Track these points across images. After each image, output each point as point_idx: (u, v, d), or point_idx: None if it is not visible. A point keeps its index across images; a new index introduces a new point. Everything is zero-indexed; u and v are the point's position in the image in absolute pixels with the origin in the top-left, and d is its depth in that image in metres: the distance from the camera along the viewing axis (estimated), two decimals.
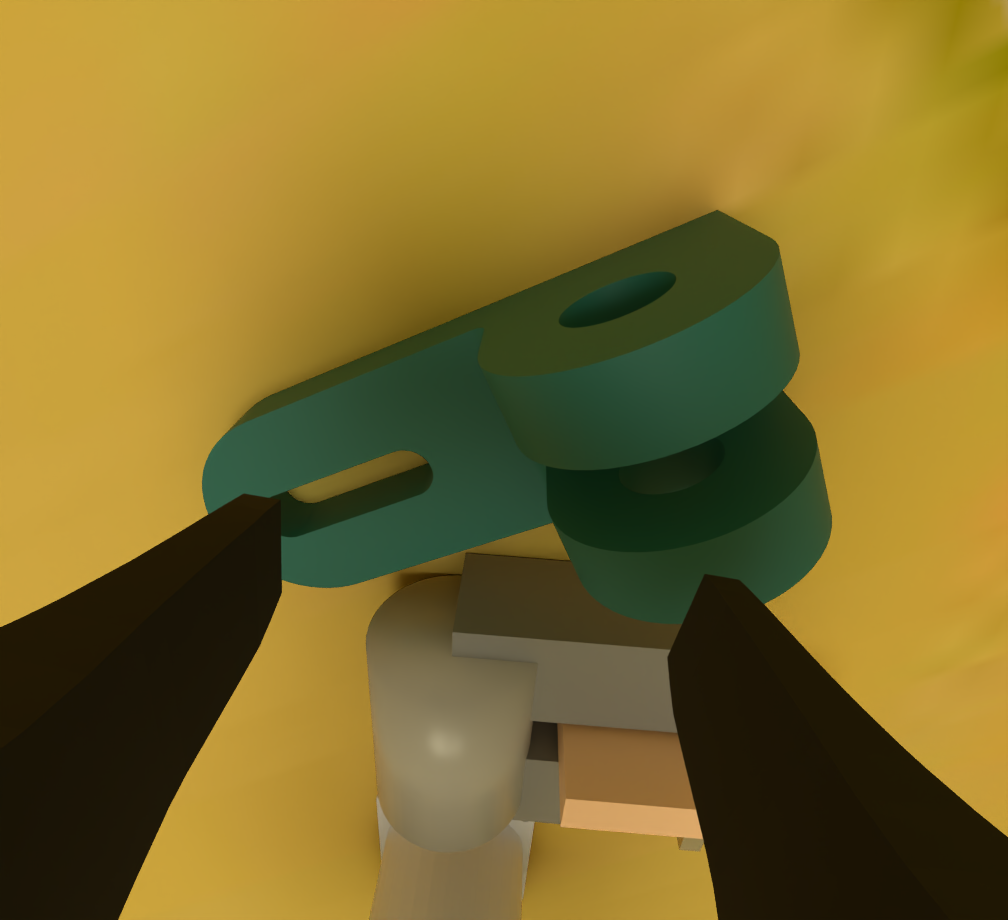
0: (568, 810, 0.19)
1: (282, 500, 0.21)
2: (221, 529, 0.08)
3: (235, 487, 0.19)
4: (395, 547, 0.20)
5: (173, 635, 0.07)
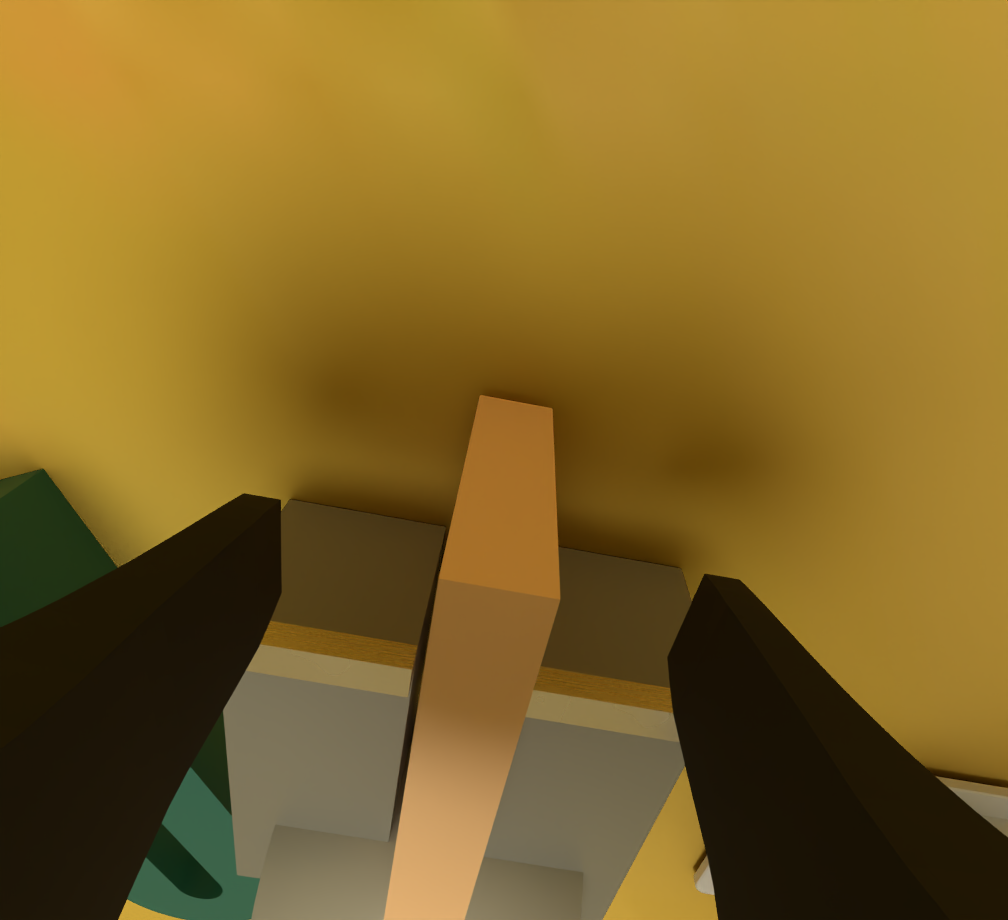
0: None
1: None
2: (221, 529, 0.08)
3: (173, 903, 0.22)
4: (220, 834, 0.19)
5: (173, 635, 0.07)
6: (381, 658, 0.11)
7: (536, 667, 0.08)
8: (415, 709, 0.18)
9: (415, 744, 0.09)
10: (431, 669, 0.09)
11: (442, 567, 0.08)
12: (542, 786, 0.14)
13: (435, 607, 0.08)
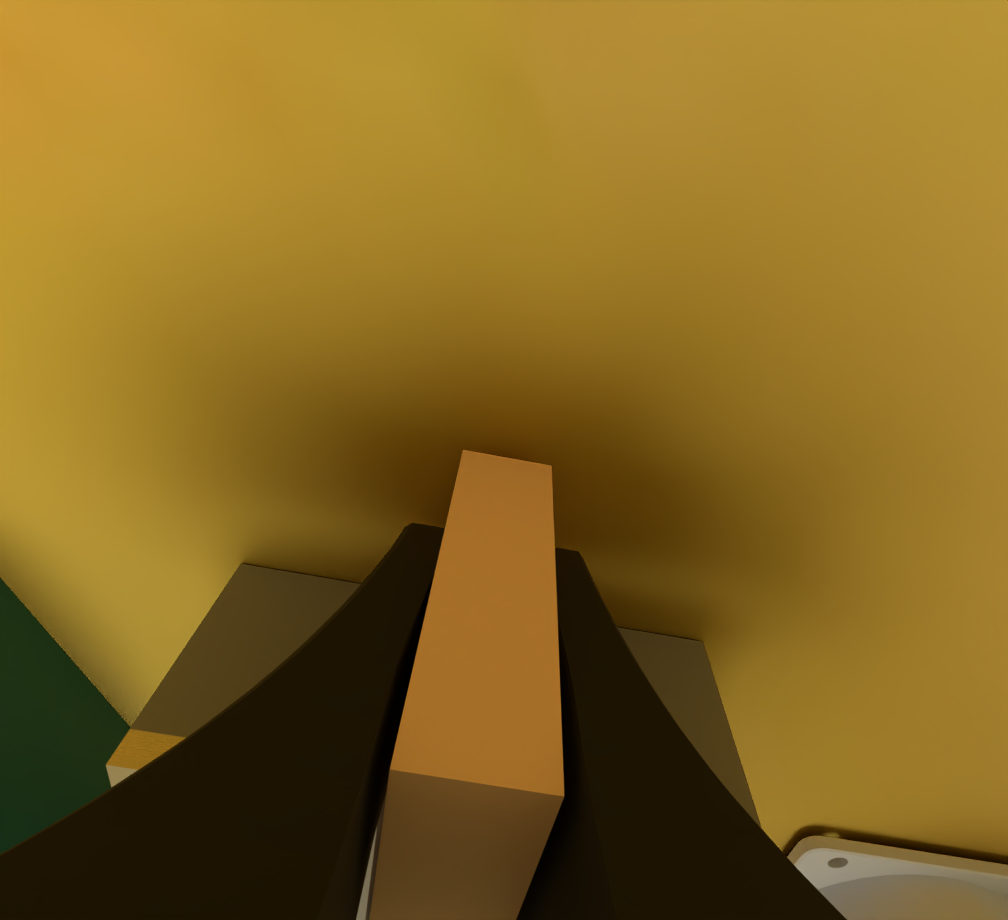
0: None
1: None
2: (416, 562, 0.08)
3: None
4: None
5: (402, 672, 0.07)
6: None
7: (531, 869, 0.06)
8: None
9: None
10: (387, 867, 0.06)
11: (396, 746, 0.06)
12: None
13: (387, 802, 0.06)
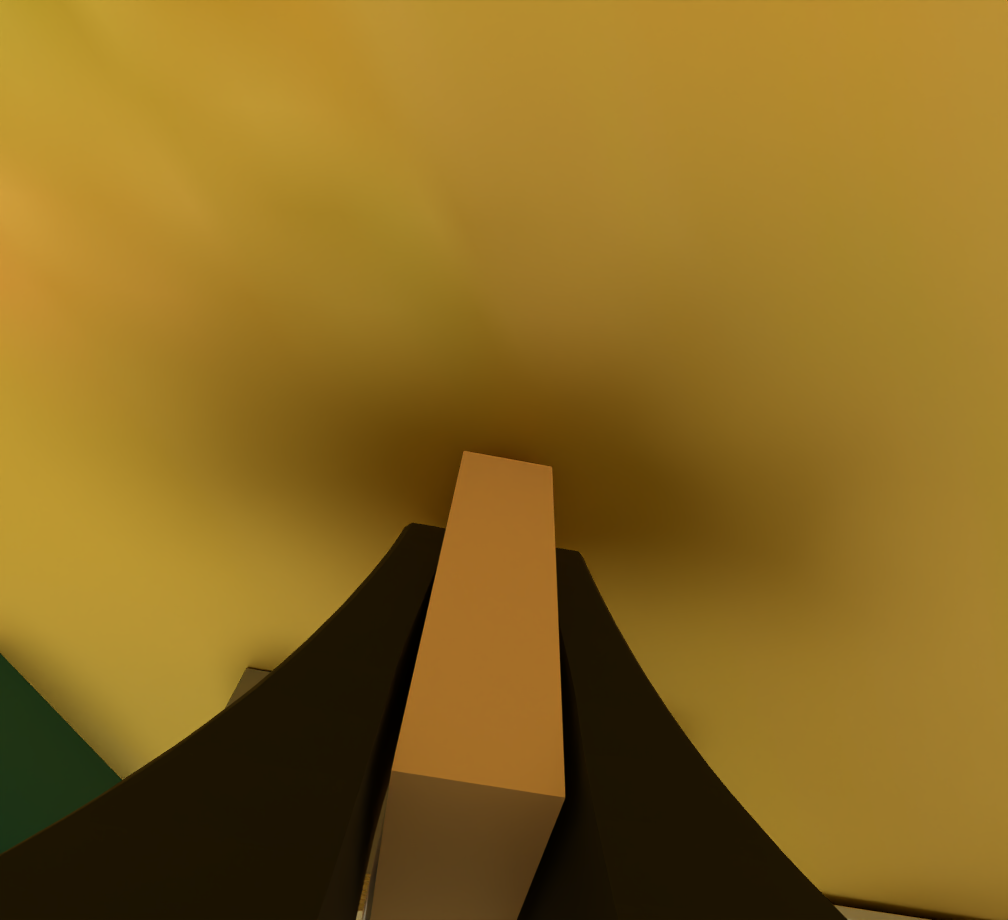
0: None
1: None
2: (416, 563, 0.08)
3: None
4: None
5: (402, 672, 0.07)
6: None
7: (532, 869, 0.06)
8: None
9: None
10: (388, 868, 0.06)
11: (398, 747, 0.06)
12: None
13: (388, 803, 0.06)
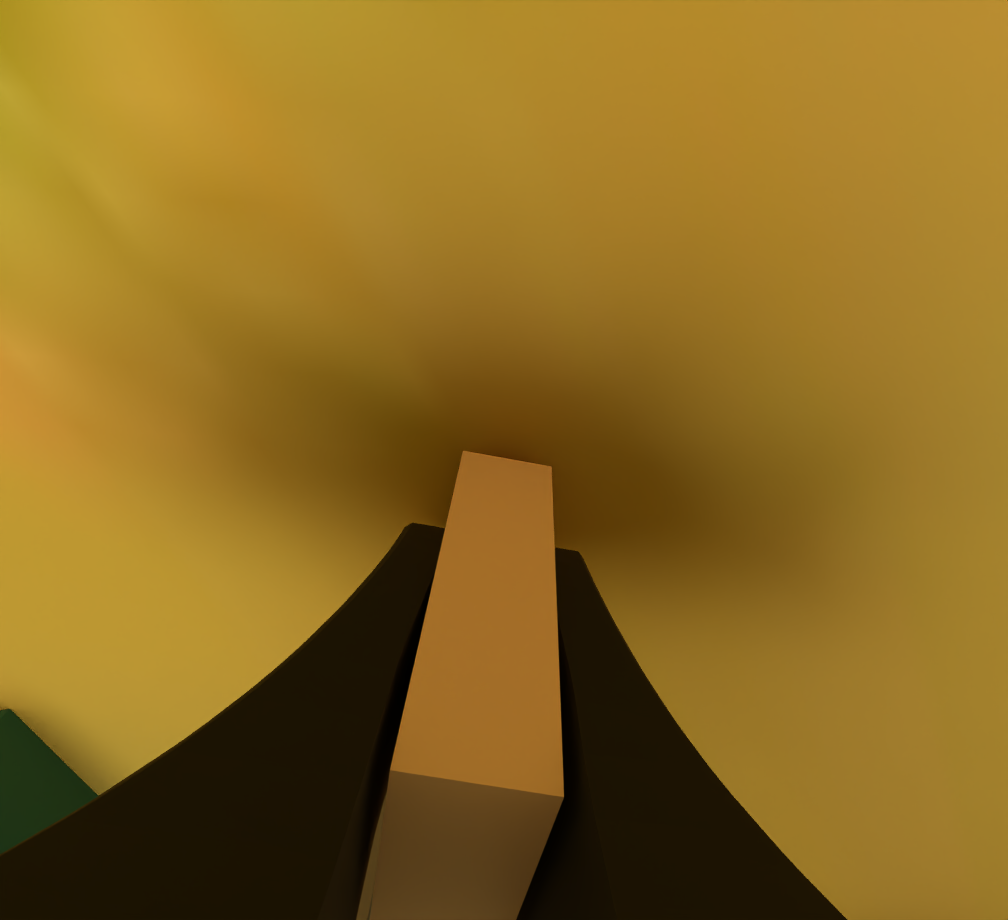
0: None
1: None
2: (416, 563, 0.08)
3: None
4: None
5: (402, 672, 0.07)
6: None
7: (531, 869, 0.06)
8: None
9: None
10: (386, 867, 0.06)
11: (397, 747, 0.06)
12: None
13: (387, 803, 0.06)
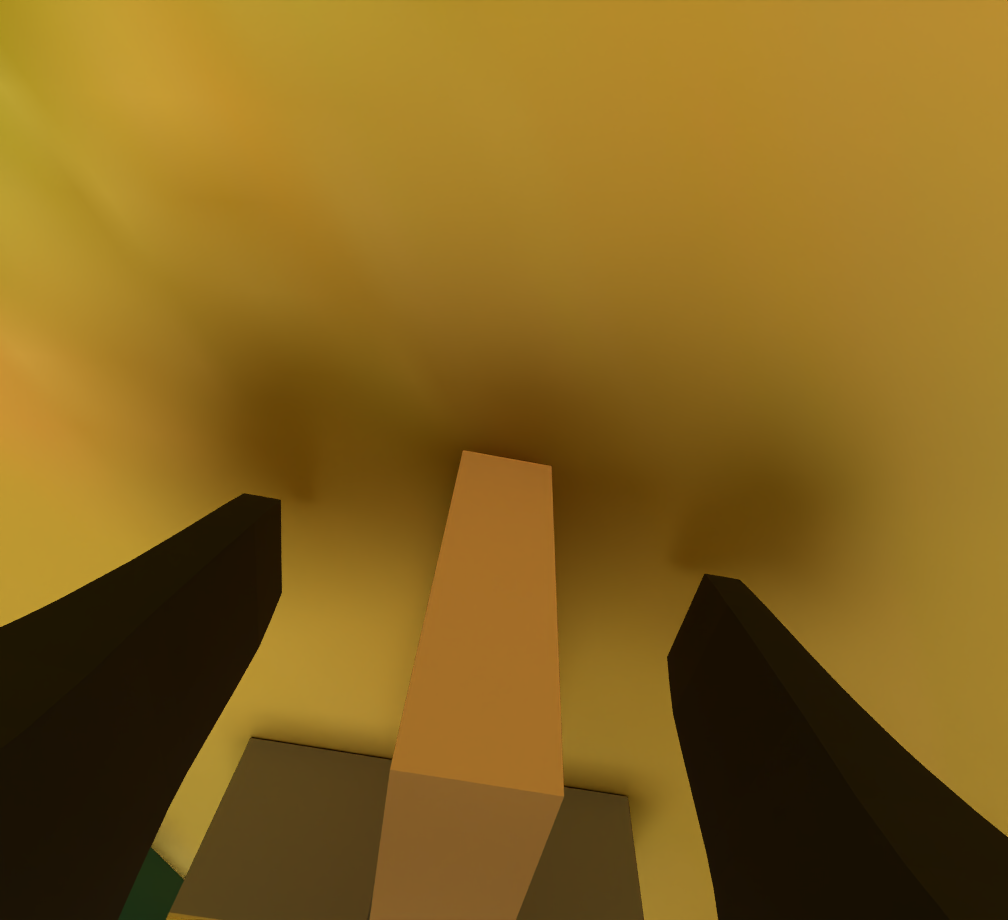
0: None
1: None
2: (221, 529, 0.08)
3: None
4: None
5: (173, 635, 0.07)
6: None
7: (531, 867, 0.06)
8: None
9: None
10: (387, 866, 0.06)
11: (397, 746, 0.06)
12: None
13: (387, 802, 0.06)
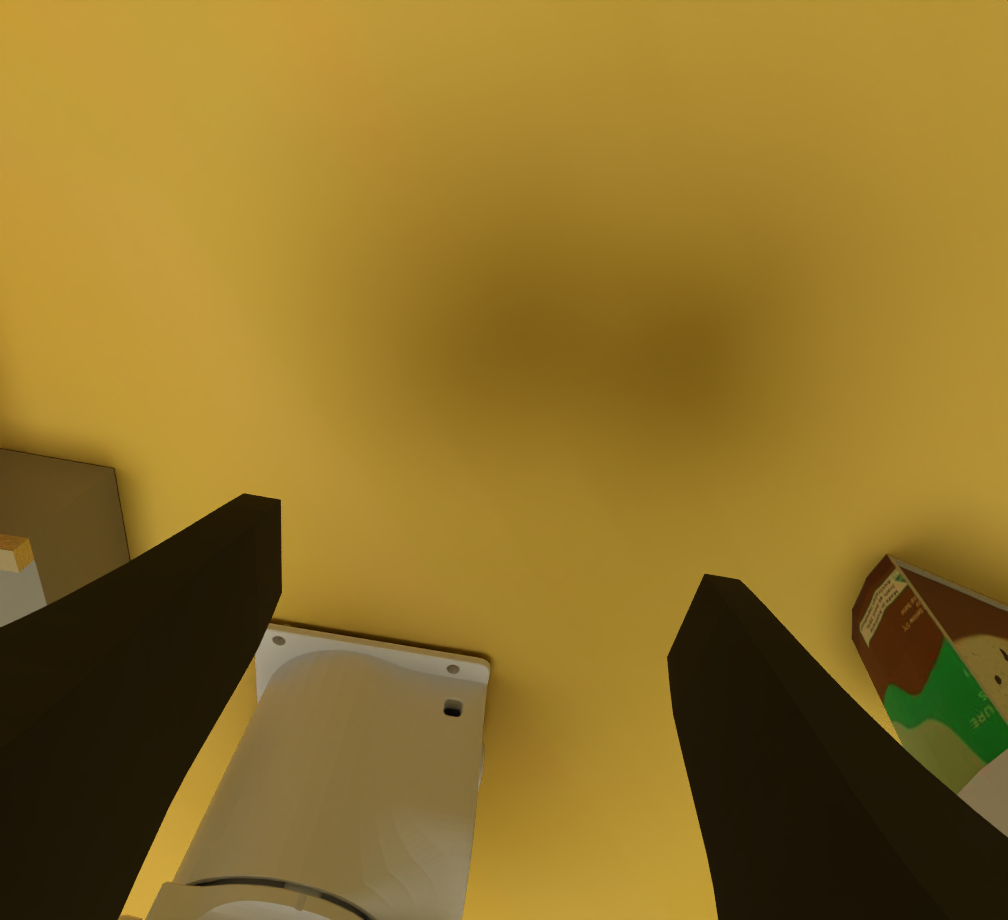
0: None
1: None
2: (221, 529, 0.08)
3: None
4: None
5: (173, 635, 0.07)
6: None
7: None
8: None
9: None
10: None
11: None
12: None
13: None
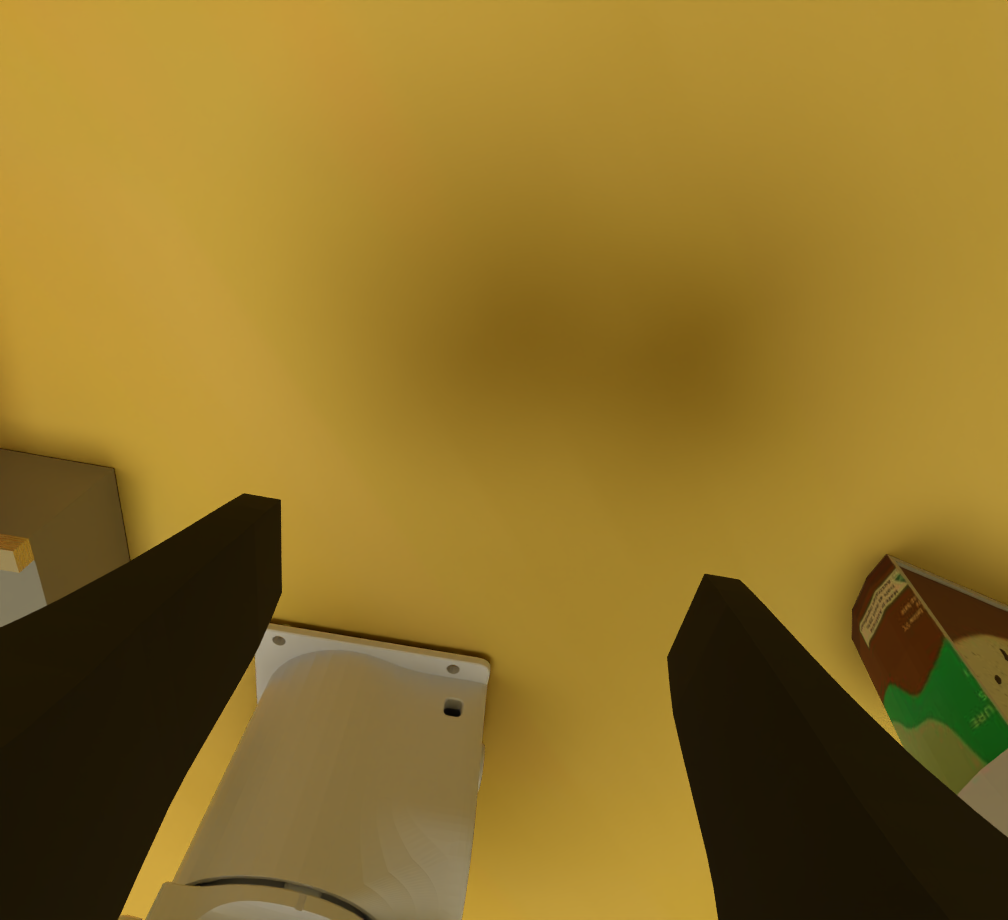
0: None
1: None
2: (221, 529, 0.08)
3: None
4: None
5: (173, 635, 0.07)
6: None
7: None
8: None
9: None
10: None
11: None
12: None
13: None
